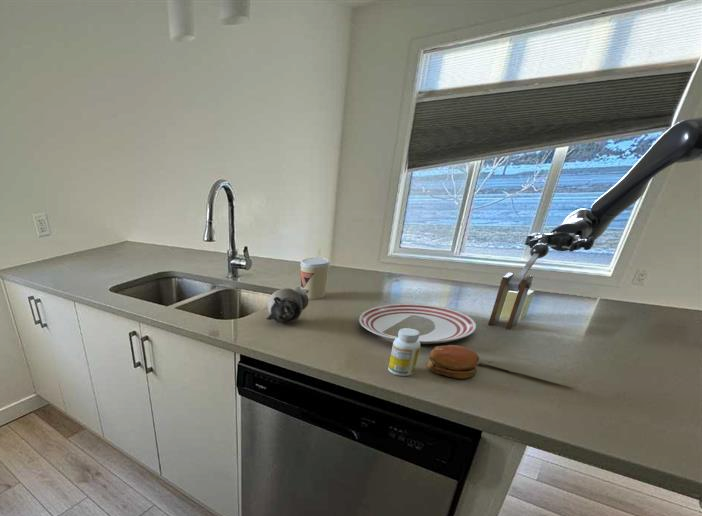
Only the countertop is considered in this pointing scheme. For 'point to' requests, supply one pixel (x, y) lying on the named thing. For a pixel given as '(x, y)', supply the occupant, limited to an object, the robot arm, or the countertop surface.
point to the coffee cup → (314, 277)
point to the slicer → (517, 305)
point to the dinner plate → (446, 320)
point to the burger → (453, 361)
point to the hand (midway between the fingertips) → (551, 245)
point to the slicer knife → (528, 266)
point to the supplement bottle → (404, 352)
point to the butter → (511, 300)
